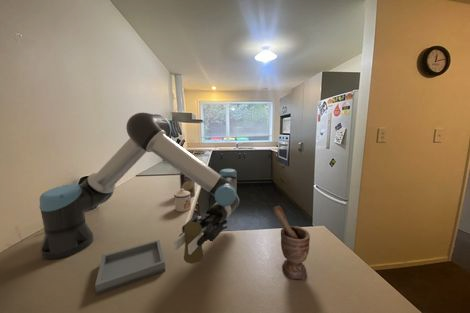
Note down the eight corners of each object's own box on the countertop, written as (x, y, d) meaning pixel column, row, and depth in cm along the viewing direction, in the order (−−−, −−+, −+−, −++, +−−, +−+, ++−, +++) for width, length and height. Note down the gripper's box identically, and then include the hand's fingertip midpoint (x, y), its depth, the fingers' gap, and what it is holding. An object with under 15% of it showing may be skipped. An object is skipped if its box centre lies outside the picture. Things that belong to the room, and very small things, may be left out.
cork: (195, 247, 62) (194, 217, 60) (207, 255, 58) (206, 223, 57) (179, 257, 57) (178, 224, 56) (191, 266, 54) (190, 231, 52)
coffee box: (181, 198, 121) (180, 174, 119) (180, 194, 127) (179, 172, 125) (195, 196, 125) (194, 173, 122) (193, 193, 131) (192, 171, 128)
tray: (96, 295, 51) (95, 285, 50) (103, 263, 63) (102, 255, 62) (165, 270, 59) (164, 262, 59) (159, 246, 71) (159, 239, 71)
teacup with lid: (186, 212, 100) (185, 192, 98) (171, 211, 102) (170, 191, 100) (196, 204, 111) (195, 185, 110) (182, 202, 114) (181, 184, 112)
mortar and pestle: (267, 273, 58) (268, 213, 55) (273, 255, 66) (274, 202, 63) (307, 284, 53) (310, 220, 50) (308, 264, 61) (311, 207, 58)
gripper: (238, 225, 71) (209, 268, 49) (200, 218, 77) (159, 252, 56) (238, 207, 70) (208, 242, 48) (199, 200, 76) (157, 229, 54)
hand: (182, 247), depth 52 cm, fingers closed on cork, 4 cm apart
